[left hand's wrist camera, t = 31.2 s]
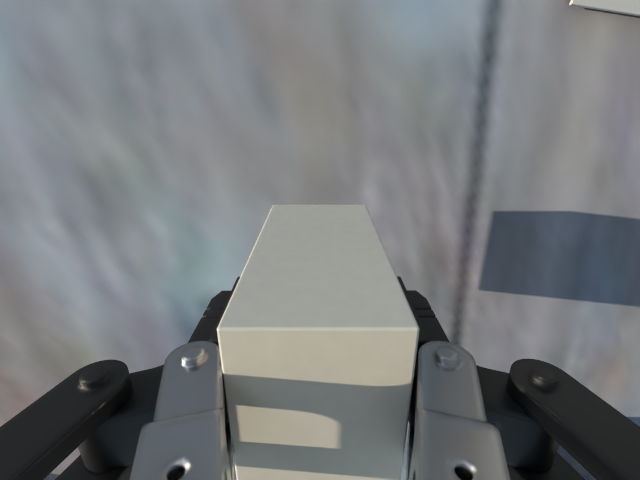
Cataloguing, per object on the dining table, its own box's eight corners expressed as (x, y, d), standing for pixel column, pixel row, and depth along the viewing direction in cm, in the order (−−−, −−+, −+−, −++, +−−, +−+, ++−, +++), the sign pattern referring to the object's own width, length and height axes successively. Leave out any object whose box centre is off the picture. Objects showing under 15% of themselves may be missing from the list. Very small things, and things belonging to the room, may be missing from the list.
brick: (277, 301, 17) (236, 491, 9) (272, 204, 15) (215, 328, 7) (361, 301, 17) (400, 491, 9) (366, 204, 15) (420, 328, 7)
